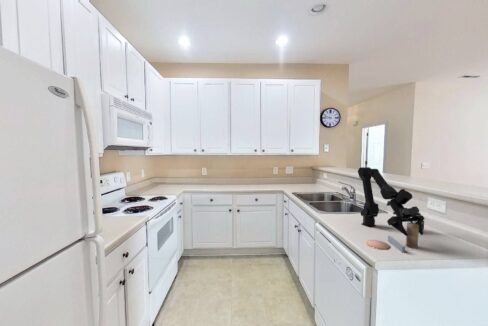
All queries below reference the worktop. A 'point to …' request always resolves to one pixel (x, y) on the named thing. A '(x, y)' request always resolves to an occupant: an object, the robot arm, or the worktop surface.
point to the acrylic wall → (396, 244)
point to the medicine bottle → (410, 222)
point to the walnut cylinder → (412, 235)
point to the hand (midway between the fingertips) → (414, 235)
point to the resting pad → (377, 244)
